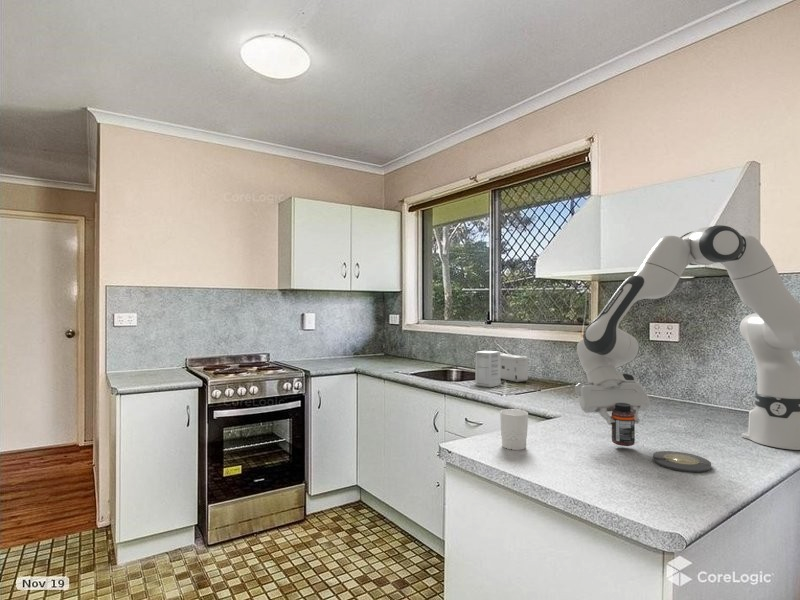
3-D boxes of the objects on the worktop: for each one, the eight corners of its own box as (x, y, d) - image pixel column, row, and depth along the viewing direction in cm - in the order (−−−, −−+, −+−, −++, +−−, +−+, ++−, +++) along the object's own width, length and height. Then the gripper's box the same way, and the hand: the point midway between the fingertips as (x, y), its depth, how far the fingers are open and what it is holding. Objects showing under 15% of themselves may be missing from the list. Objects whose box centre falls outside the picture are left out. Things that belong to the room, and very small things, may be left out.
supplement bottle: (612, 439, 138) (611, 400, 138) (634, 442, 135) (634, 402, 135) (611, 445, 133) (611, 405, 133) (634, 447, 130) (634, 407, 130)
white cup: (521, 441, 140) (521, 408, 140) (532, 450, 132) (532, 414, 132) (495, 443, 139) (496, 409, 139) (506, 451, 131) (506, 415, 131)
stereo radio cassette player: (528, 381, 246) (528, 343, 246) (517, 383, 241) (517, 344, 242) (501, 376, 264) (501, 340, 264) (490, 377, 260) (490, 341, 260)
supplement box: (501, 385, 235) (501, 351, 235) (491, 387, 228) (491, 353, 228) (485, 382, 242) (485, 350, 242) (474, 385, 235) (474, 351, 235)
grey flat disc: (660, 452, 131) (660, 447, 131) (716, 463, 122) (716, 458, 122) (645, 463, 121) (645, 459, 121) (704, 477, 112) (704, 471, 112)
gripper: (576, 377, 140) (593, 418, 130) (640, 375, 142) (662, 415, 132) (569, 389, 144) (585, 430, 135) (632, 387, 146) (652, 427, 137)
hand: (624, 423), depth 133 cm, fingers closed on supplement bottle, 6 cm apart
